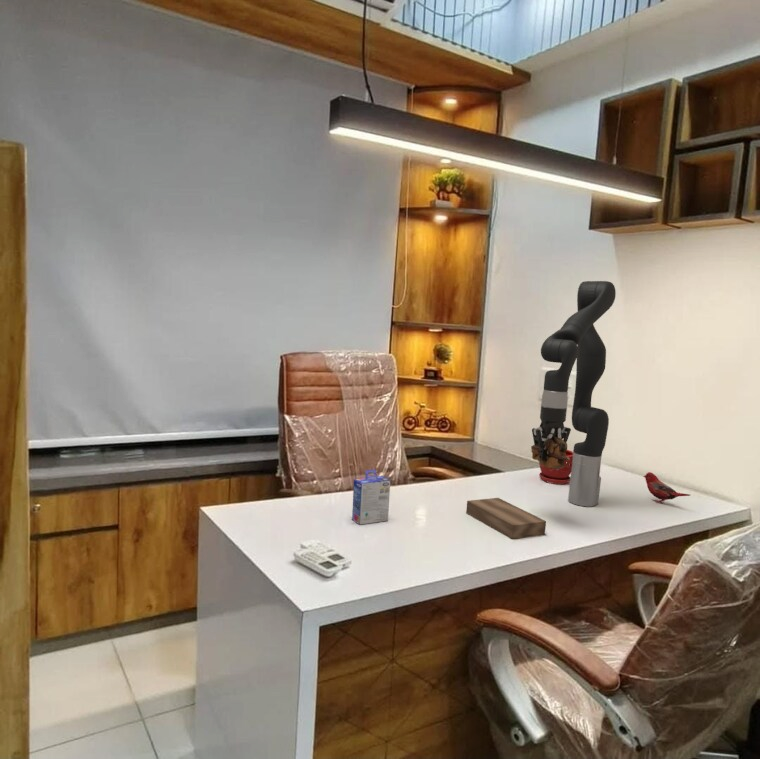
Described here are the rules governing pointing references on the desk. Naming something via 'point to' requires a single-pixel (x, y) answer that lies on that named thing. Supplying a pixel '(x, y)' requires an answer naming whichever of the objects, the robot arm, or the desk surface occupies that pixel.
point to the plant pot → (558, 472)
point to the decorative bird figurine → (660, 489)
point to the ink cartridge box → (371, 499)
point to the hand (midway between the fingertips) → (548, 460)
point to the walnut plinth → (506, 518)
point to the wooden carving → (552, 454)
